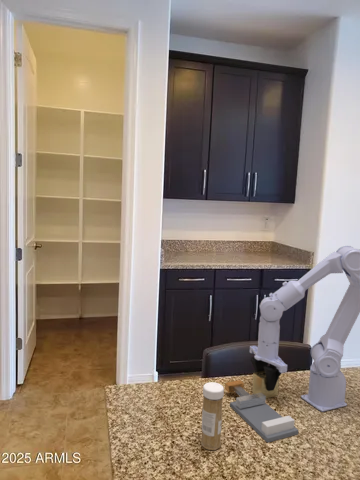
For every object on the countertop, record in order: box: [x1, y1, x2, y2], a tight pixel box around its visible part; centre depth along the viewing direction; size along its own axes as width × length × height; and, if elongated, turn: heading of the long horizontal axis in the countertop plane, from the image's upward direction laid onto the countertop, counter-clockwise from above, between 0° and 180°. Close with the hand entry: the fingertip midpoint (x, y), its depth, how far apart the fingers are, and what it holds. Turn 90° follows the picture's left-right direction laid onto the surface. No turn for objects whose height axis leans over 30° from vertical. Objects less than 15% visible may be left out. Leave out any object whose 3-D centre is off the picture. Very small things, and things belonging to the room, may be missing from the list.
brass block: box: [251, 371, 280, 399], centre depth 102 cm, size 6×4×6 cm, turn 114°
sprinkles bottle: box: [200, 381, 225, 451], centre depth 79 cm, size 5×5×14 cm
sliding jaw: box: [224, 379, 267, 409], centre depth 98 cm, size 8×10×2 cm
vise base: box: [229, 400, 299, 443], centre depth 90 cm, size 9×16×3 cm, turn 24°
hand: (265, 386), depth 102 cm, fingers closed on brass block, 4 cm apart
